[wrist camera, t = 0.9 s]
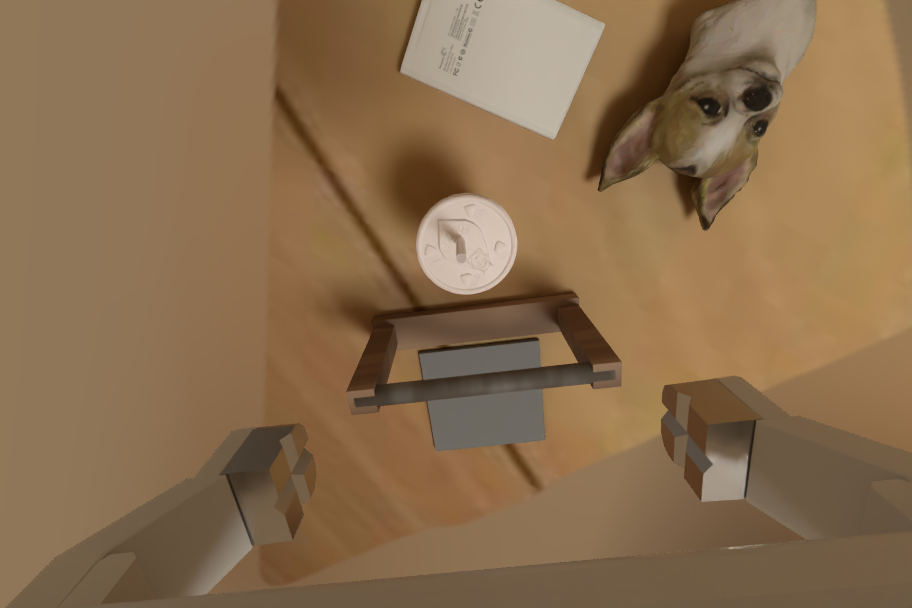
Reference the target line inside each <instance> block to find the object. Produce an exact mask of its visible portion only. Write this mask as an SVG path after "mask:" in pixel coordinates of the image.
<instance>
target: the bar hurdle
mask: <svg viewBox="0 0 912 608" xmlns="http://www.w3.org/2000/svg"><path fill="white" fill-rule="evenodd" d="M372 325H373V332H372V334H371V336H370V339H369V341H368V343H367V345H366V348H365V350H364V352H363V355H362V357H361V359H360V361H359V364H358V366H357V368H356V370H355V373H354V375H353V377H352V380H351V382H350V384H349V386H348V389H347V391H346V393H347V397H348V402H349V406H350V410H351V414H352V415H357V414H366V413H376V412H379V409H380V406H386V405H395V404H405V403H414V402H423V401H432V400H442V399H451V398H460V397H470V396H479V395H488V394H498V393H507V392H516V391H526V390H535V389H544V388H553V387H563V386H572V385H581V384H591V386H592V388H593V389H600V388H610V387H619V386H621V369H622V362H621V360H620V359H619V358H618V356H617V355H616V354H615V352H614V351H613V350H612V349H611V347H610V346H609V345H608V343H607V342H606V341H605V339H604V338H603V337H602V335H601V334H600V333H599V331H598V330H597V329H596V327H595V326H594V325H593V324H592V322H591V321H590V320H589V318H588V317H587V316H586V314H585V313H584V312H583V310H582V309H581V308H580V306H579V297H578V296H577V295H576V293H571V294H562V295H554V296H545V297H537V298H528V299H519V300H511V301H502V302H494V303H485V304H476V305H468V306H459V307H451V308H442V309H433V310H425V311H416V312H408V313H399V314H390V315H382V316H374V318H373V320H372ZM553 332H562V334H563V336H564V338H565V340H566V341H567V343H568V345H569V347H570V348H571V350H572V352H573V354H574V356H575V357H576V359H577V361H578V363H574V364H565V365H556V366H546V367H537V368H528V369H519V370H510V371H501V372H492V373H483V374H473V375H464V376H455V377H446V378H437V379H428V380H419V381H410V382H400V383H391V384H387V380H388V377H389V373H390V370H391V366H392V363H393V359H394V356H395V352H396V350H402V349H411V348H420V347H428V346H437V345H446V344H455V343H464V342H473V341H482V340H491V339H499V338H508V337H517V336H526V335H535V334H544V333H553Z"/></svg>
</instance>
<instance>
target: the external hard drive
mask: <svg viewBox="0 0 912 608" xmlns="http://www.w3.org/2000/svg"><path fill="white" fill-rule="evenodd" d="M604 27H605V24H604V23H602V22H600V21H598V20H596V19H594V18H592V17H590V16H588V15H586V14H584V13H582V12H580V11H577V10H575V9H573V8H571V7H569V6H567V5H565V4H563V3H561V2H559V1H557V0H422V1H421V5H420V8H419V11H418V14H417V17H416V20H415V24H414V27H413V30H412V33H411V36H410V40H409V43H408V46H407V49H406V52H405V56H404V59H403V62H402V65H401V69H400V73H401V74H403V75H405V76H407V77H409V78H412V79H414V80H416V81H419V82H421V83H423V84H425V85H427V86H430V87H432V88H434V89H436V90H439V91H441V92H443V93H446V94H448V95H450V96H452V97H455V98H457V99H459V100H461V101H464V102H466V103H468V104H470V105H473V106H475V107H477V108H480V109H482V110H484V111H487V112H489V113H491V114H493V115H496V116H498V117H500V118H502V119H505V120H507V121H509V122H512V123H514V124H516V125H518V126H521V127H523V128H525V129H528V130H530V131H532V132H534V133H537V134H539V135H541V136H544V137H546V138H548V139H551V140H554V139H555V137H556V135H557V133H558V131H559V129H560V126H561V124H562V122H563V120H564V117H565V115H566V113H567V111H568V108H569V106H570V104H571V102H572V99H573V97H574V95H575V93H576V90H577V88H578V86H579V84H580V81H581V79H582V77H583V75H584V73H585V70H586V68H587V66H588V64H589V61H590V59H591V57H592V55H593V52H594V50H595V48H596V46H597V44H598V41H599V39H600V37H601V34H602V32H603V30H604Z"/></svg>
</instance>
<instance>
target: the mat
mask: <svg viewBox="0 0 912 608" xmlns="http://www.w3.org/2000/svg"><path fill="white" fill-rule="evenodd" d="M419 357H420V362H421V368H422V374H423V380H428V379H437V378H446V377H455V376H464V375H473V374H483V373H492V372H501V371H510V370H519V369H528V368H537V367H541V365H540V348H539V339H538V338H537V339H528V340H519V341H510V342H501V343H492V344H483V345H475V346H466V347H457V348H448V349H439V350H430V351H421V352H419ZM427 403H428V409H429V415H430V421H431V426H432V432H433V438H434V444H435V450H436V451H444V450H453V449H463V448H473V447H483V446H492V445H502V444H512V443H522V442H531V441H541V440H545V429H544V413H543V397H542V389H535V390H526V391H516V392H507V393H498V394H488V395H479V396H470V397H460V398H451V399H442V400H432V401H427Z"/></svg>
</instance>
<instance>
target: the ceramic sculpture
mask: <svg viewBox="0 0 912 608" xmlns="http://www.w3.org/2000/svg"><path fill="white" fill-rule="evenodd" d="M815 22H816V0H735V1H732V2H730V3H727V4H725V5H722V6H719V7H717V8H714V9H711V10H708V11H705V12H703V13H702V14H701V15H700V16H698V17H697V18H696V19H695V21H694V22H693V24H692V28H691V34H690V47H689V50H688V53H687V56H686V58H685V61H684V62H683V63H682V64H681V66H680V69H679V71H678V72H677V73H676V74H675V75H674V77H673V78H672V79H671V82H670V85H669V86H668V88H667V89H666V91H665V93H664V95H663V96H661V97H659V98H657V99H655V100H653V101H650V102H648V103H646V104H644V105H643V106H642V107H640V108H639V109H638V110H636V111H635V112H634V113H633V114H632V115H631V116H630V117H629V119H628V120H627V121H626V122H625V123H624V125H623V126H622V127H621V129H620V130H619V131H618V133H617V134H616V136H615V138H614V139H613V141H612V143H611V145H610V147H609V150H608V152H607V155H606V157H605V160H604V163H603V166H602V171H601V177H600V182H599V187H598V191H600V192H601V191H603V190H605V189H606V188H608V187H609V186H611V185H612V184H615V183H618V182H621V181H624V180H626V179H629V178H632V177H634V176H636V175H638V174H640V173H642V172H643V171H645V170H646V169H647V168H649V167H650V166H651V165H652V164H653V162H654V161H655V160H656V159H660V160H661V162H662V163H663V164H665V165H666V166H667V167H668V168H669V169H671V170H673V171H674V172H676V173H680V174H684V175H688V176H692V177H696V178H695V180H694V182H693V184H692V186H691V193H690V195H691V198H692V201H693V203H694V206H695V208H696V211H697V213H698V216H699V220H700V223H701V226H702V229H703V230H705V231H707V230H708V229H709V228H710V226H711V224H712V223H713V221H714V219H715V217H716V215H717V214H718V212H719V211H720V210H721V209H722V208H723V207H724V206H725V205H726V204H727V203H728V202H729V201H730V200H731V199H732V198H733V197H734V195H735V193H736V192H738V191H740V190H741V189H742V187H743V186H744V185H745V184H746V183H747V182H748V179H749V175H750V174H751V172H752V171H753V170H754V168H755V167H756V165H757V158H758V148H757V145H758V143H759V141H760V139H761V138H762V136H763V135H764V134H765V132H766V129H767V127H768V126H769V125H770V124H771V122H772V121H773V120H774V118H775V116H776V114H777V111H778V107H779V102H780V99H781V97H782V94H783V83H784V80H785V79H786V77H787V76H788V75H789V74H790V72H791V71H792V70H793V68H794V67H795V66H796V65H797V64H798V63H799V62H800V61H801V59H802V57H803V56H804V53H805V51H806V49H807V47H808V46H809V43H810V41H811V39H812V36H813V31H814V26H815Z"/></svg>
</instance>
